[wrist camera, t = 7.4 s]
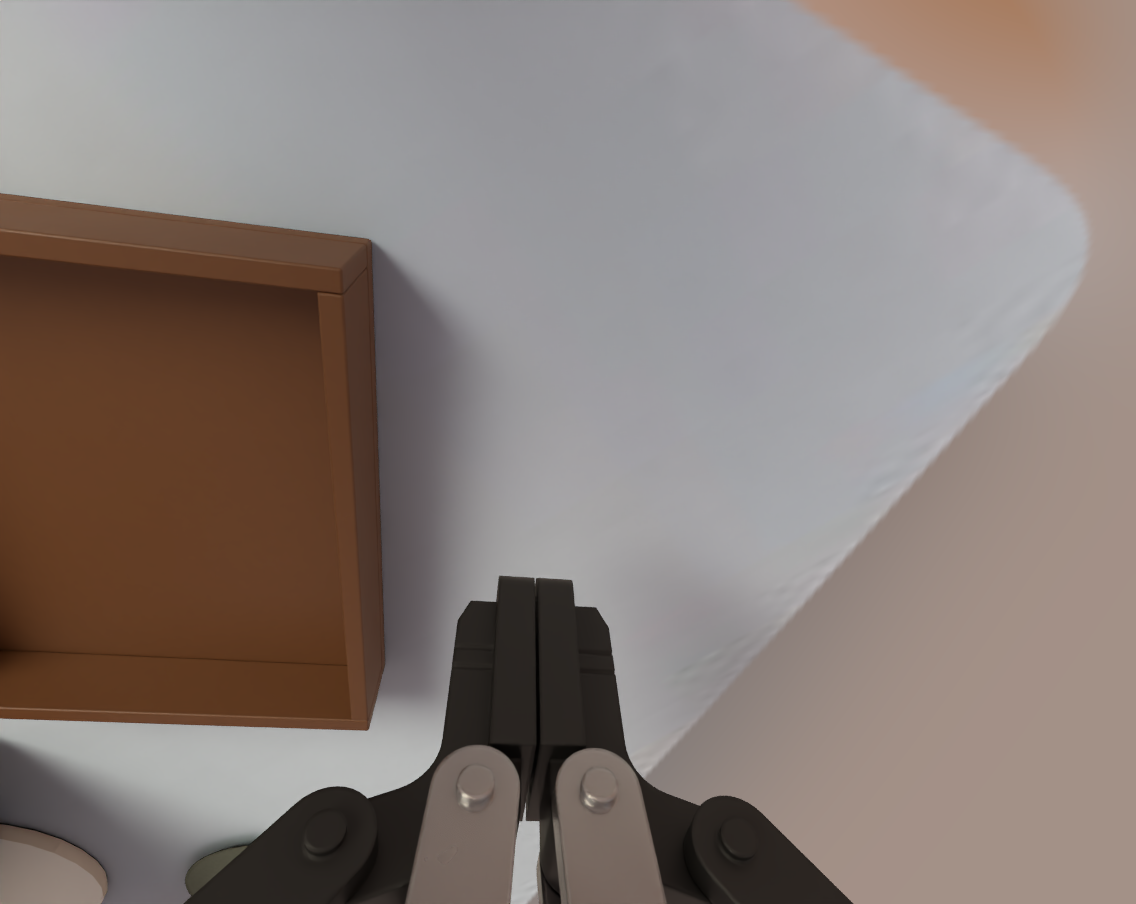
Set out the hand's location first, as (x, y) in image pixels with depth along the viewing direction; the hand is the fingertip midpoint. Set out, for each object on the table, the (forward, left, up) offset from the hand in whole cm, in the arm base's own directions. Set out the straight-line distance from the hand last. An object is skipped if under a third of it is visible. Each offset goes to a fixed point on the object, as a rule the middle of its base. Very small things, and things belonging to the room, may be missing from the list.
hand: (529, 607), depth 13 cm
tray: (+1, -10, -5) cm, 12 cm away
